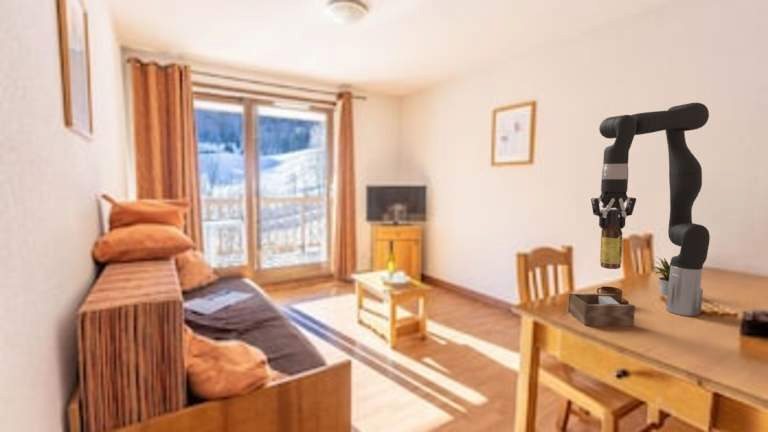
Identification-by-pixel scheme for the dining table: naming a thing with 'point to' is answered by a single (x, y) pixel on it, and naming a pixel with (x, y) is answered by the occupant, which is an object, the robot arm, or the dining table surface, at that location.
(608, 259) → the sauce bottle
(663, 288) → the house plant
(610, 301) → the offcut top
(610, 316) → the wooden box
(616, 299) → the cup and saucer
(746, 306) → the dining table surface
